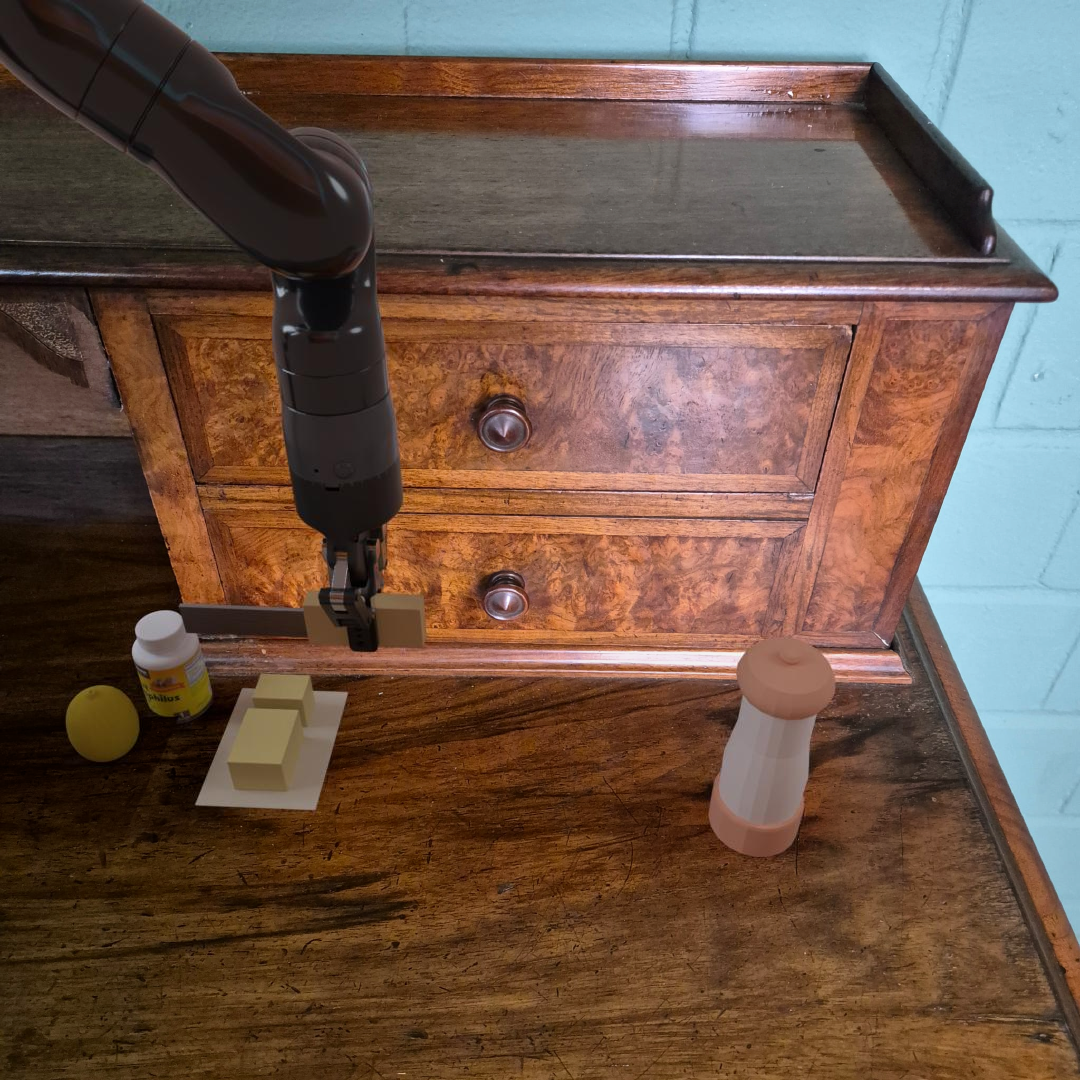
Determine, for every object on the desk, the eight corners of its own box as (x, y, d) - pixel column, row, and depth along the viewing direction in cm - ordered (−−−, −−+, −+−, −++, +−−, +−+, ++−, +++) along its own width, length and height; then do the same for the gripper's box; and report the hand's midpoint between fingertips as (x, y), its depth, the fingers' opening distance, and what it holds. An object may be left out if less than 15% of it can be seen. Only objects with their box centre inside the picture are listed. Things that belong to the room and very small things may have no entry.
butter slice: (257, 725, 85) (251, 697, 83) (266, 700, 87) (260, 673, 85) (307, 727, 85) (302, 699, 83) (315, 702, 87) (310, 675, 85)
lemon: (69, 756, 83) (42, 692, 78) (129, 722, 86) (106, 658, 81) (100, 792, 80) (73, 726, 75) (160, 755, 83) (138, 690, 78)
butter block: (233, 789, 79) (226, 761, 77) (254, 735, 84) (247, 707, 82) (287, 791, 79) (281, 764, 77) (304, 737, 84) (299, 709, 82)
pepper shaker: (726, 864, 75) (764, 693, 64) (696, 791, 81) (725, 622, 69) (812, 849, 76) (863, 678, 65) (776, 778, 82) (817, 610, 71)
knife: (182, 639, 75) (171, 600, 72) (190, 624, 76) (179, 585, 74) (423, 648, 74) (420, 609, 72) (426, 633, 75) (423, 594, 73)
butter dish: (196, 811, 78) (194, 804, 78) (243, 693, 89) (242, 687, 89) (316, 816, 78) (315, 809, 78) (349, 697, 89) (348, 691, 88)
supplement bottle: (138, 719, 86) (110, 636, 80) (178, 679, 91) (153, 597, 84) (189, 737, 85) (164, 653, 79) (227, 695, 89) (206, 612, 83)
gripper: (312, 399, 70) (339, 582, 80) (260, 504, 59) (299, 700, 69) (413, 403, 70) (427, 585, 80) (379, 509, 59) (400, 704, 69)
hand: (367, 638), depth 75 cm, fingers closed on knife, 2 cm apart
